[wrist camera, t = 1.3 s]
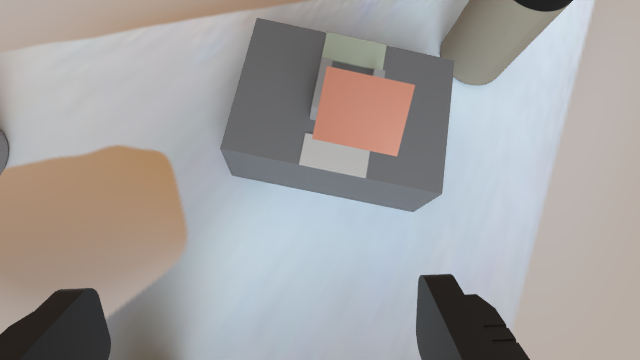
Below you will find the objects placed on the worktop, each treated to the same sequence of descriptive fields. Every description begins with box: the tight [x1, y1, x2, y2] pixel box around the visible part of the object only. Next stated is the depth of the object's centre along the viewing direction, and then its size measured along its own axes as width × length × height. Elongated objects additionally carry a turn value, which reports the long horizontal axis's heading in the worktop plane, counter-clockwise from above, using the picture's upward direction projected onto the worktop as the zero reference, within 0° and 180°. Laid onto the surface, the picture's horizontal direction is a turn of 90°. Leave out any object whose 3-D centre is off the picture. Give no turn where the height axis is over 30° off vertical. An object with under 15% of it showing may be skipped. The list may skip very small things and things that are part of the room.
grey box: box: [220, 18, 454, 212], centre depth 39 cm, size 20×14×10 cm
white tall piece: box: [312, 66, 415, 156], centre depth 27 cm, size 4×4×16 cm
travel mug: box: [441, 0, 573, 85], centre depth 40 cm, size 8×8×18 cm
